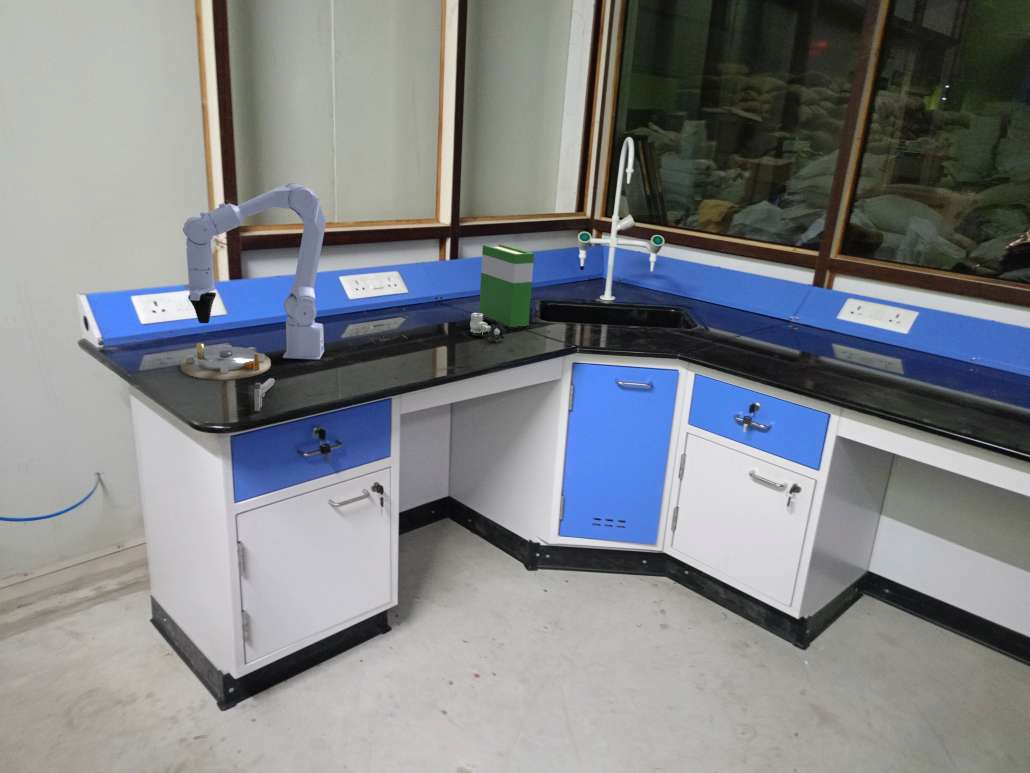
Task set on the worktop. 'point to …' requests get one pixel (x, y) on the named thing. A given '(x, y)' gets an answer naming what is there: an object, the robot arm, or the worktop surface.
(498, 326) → the valve
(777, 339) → the worktop surface
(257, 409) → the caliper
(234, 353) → the sprocket
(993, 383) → the worktop surface
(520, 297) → the hardback book
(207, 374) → the mounting board
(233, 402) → the worktop surface
